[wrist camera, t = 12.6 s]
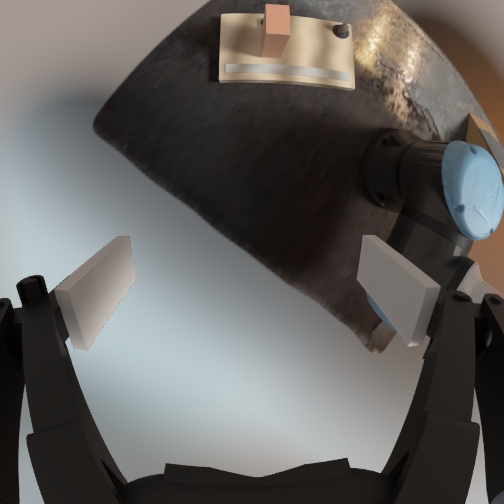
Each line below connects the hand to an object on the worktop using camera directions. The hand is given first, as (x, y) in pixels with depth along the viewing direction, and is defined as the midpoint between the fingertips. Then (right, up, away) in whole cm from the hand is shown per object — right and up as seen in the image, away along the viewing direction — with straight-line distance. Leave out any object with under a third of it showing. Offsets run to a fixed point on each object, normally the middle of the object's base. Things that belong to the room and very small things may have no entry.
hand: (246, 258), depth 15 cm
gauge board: (+6, +34, +23) cm, 41 cm away
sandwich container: (+49, +23, +29) cm, 61 cm away
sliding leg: (+3, +34, +20) cm, 40 cm away
